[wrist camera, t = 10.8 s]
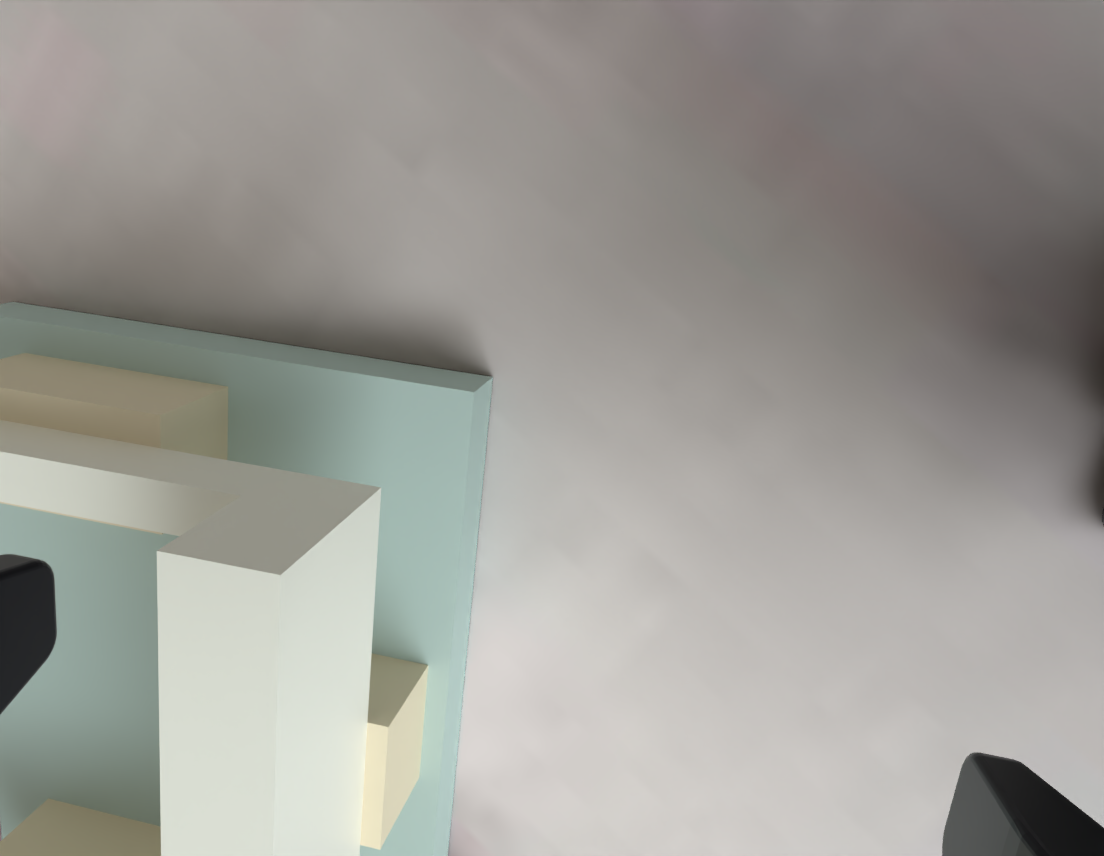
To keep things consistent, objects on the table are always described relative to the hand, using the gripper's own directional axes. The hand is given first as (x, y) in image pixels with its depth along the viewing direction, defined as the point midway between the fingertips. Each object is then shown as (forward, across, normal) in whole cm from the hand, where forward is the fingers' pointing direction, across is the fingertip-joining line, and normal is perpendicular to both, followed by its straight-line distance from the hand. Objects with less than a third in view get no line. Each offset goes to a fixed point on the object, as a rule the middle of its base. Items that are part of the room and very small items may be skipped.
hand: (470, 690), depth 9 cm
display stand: (+12, +9, +8) cm, 17 cm away
